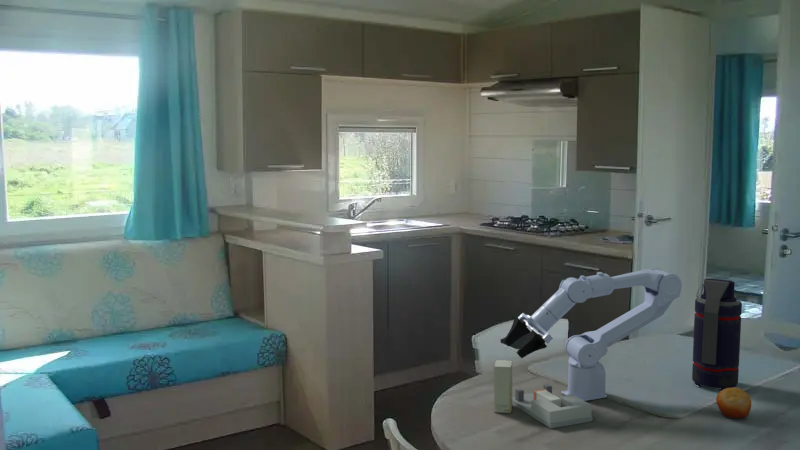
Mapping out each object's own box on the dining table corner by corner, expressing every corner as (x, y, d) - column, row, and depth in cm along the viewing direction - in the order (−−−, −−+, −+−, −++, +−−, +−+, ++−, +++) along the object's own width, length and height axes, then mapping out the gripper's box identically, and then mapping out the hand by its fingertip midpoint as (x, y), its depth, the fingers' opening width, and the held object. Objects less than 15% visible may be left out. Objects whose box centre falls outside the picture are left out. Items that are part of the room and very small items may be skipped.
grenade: (698, 375, 227) (702, 273, 223) (742, 383, 220) (747, 278, 216) (684, 389, 216) (688, 281, 212) (730, 397, 209) (735, 286, 205)
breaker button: (544, 399, 205) (544, 389, 205) (561, 409, 198) (561, 398, 198) (533, 401, 204) (533, 390, 204) (550, 411, 197) (550, 400, 196)
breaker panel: (545, 394, 213) (546, 379, 212) (592, 421, 193) (592, 405, 193) (507, 400, 208) (507, 385, 208) (550, 428, 189) (550, 412, 188)
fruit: (748, 404, 200) (751, 383, 195) (750, 429, 194) (753, 408, 189) (714, 400, 203) (716, 380, 198) (715, 425, 197) (717, 404, 192)
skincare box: (511, 413, 199) (511, 367, 197) (493, 412, 200) (493, 366, 198) (512, 405, 205) (512, 360, 203) (495, 404, 206) (495, 359, 204)
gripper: (528, 294, 211) (492, 329, 211) (555, 314, 198) (516, 351, 197) (542, 310, 214) (506, 345, 214) (569, 331, 201) (531, 368, 200)
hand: (512, 349), depth 206 cm, fingers open, 7 cm apart
